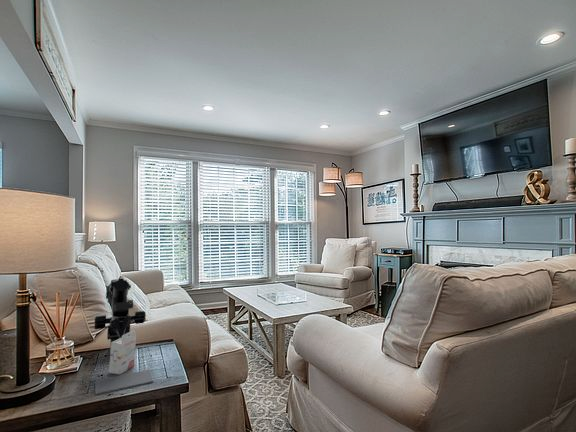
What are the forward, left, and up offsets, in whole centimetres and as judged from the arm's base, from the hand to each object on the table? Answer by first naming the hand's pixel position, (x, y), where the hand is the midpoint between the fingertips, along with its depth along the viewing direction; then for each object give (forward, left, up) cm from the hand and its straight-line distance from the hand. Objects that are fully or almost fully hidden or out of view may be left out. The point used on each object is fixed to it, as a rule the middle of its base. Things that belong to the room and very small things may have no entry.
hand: (121, 338), depth 132 cm
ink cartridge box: (+3, 0, -11) cm, 12 cm away
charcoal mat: (+15, 0, -11) cm, 19 cm away
